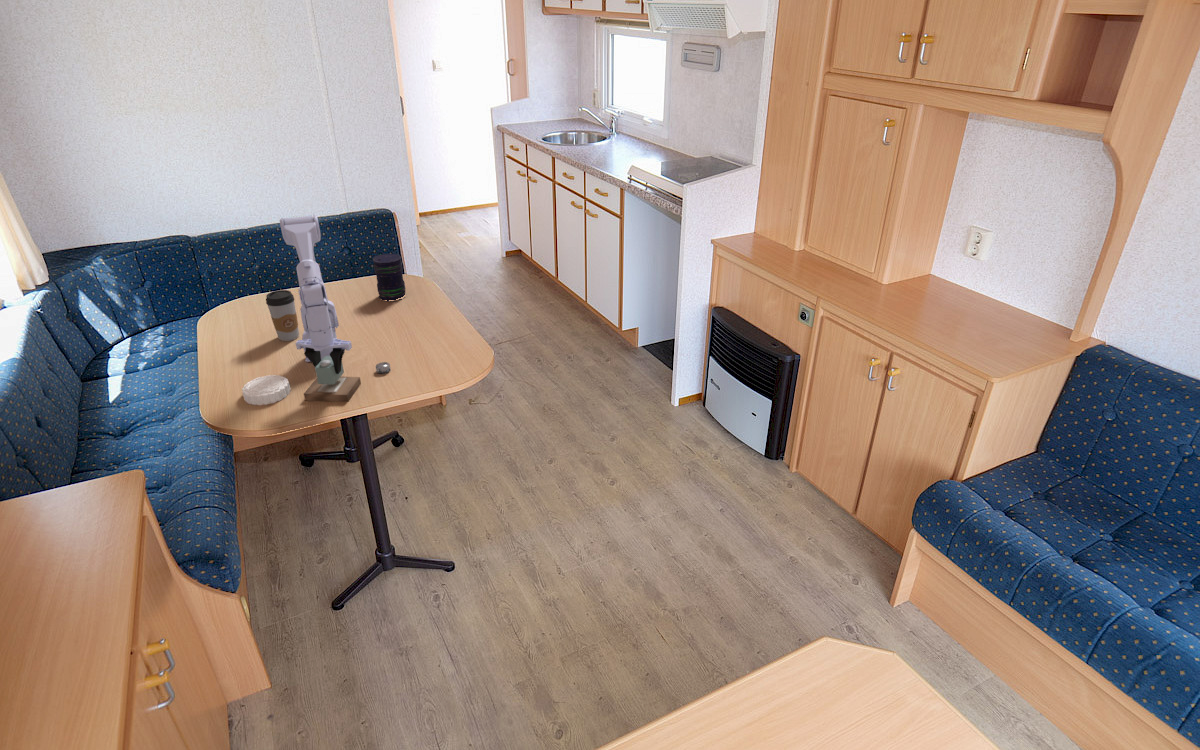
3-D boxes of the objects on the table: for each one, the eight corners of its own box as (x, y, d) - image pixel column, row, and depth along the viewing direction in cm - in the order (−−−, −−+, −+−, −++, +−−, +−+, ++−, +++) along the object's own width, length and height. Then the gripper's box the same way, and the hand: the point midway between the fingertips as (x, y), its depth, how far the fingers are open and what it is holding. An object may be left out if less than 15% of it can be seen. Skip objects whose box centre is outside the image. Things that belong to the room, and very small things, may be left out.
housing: (328, 371, 194) (324, 353, 191) (344, 372, 194) (340, 353, 191) (318, 384, 188) (314, 365, 185) (334, 384, 187) (330, 365, 185)
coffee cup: (280, 345, 218) (269, 301, 211) (271, 336, 224) (261, 293, 216) (306, 338, 223) (296, 295, 215) (297, 329, 228) (288, 287, 221)
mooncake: (271, 408, 185) (268, 397, 183) (234, 402, 188) (231, 391, 186) (300, 387, 195) (297, 376, 193) (264, 381, 198) (261, 370, 196)
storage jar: (399, 289, 260) (394, 251, 253) (411, 297, 253) (405, 258, 246) (374, 295, 255) (368, 257, 247) (385, 303, 248) (379, 264, 241)
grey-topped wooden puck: (374, 374, 202) (373, 368, 201) (379, 367, 205) (378, 362, 204) (388, 374, 202) (387, 368, 201) (392, 368, 205) (391, 362, 204)
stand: (305, 400, 188) (303, 392, 187) (319, 382, 197) (318, 375, 196) (348, 401, 188) (346, 393, 187) (361, 383, 197) (359, 376, 195)
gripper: (286, 333, 180) (297, 378, 186) (341, 334, 179) (350, 379, 186) (298, 321, 186) (308, 366, 192) (350, 323, 185) (359, 367, 192)
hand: (329, 371), depth 189 cm, fingers closed on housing, 4 cm apart
